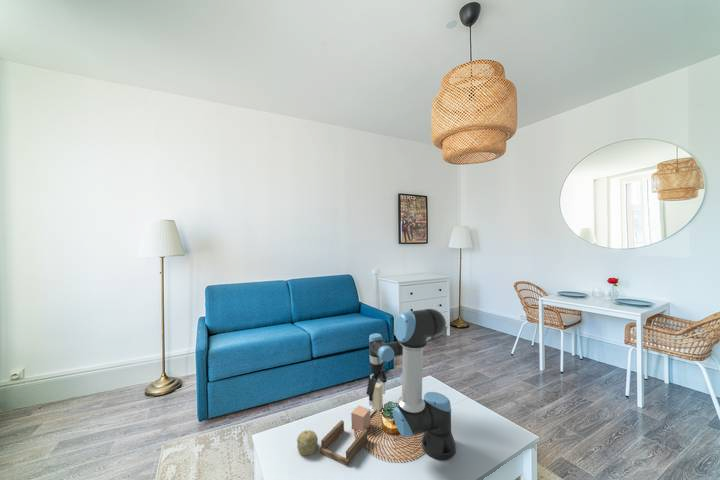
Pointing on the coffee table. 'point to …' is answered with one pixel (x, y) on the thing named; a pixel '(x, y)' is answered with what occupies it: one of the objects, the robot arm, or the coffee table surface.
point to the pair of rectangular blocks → (367, 410)
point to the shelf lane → (350, 452)
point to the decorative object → (307, 442)
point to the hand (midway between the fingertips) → (377, 399)
